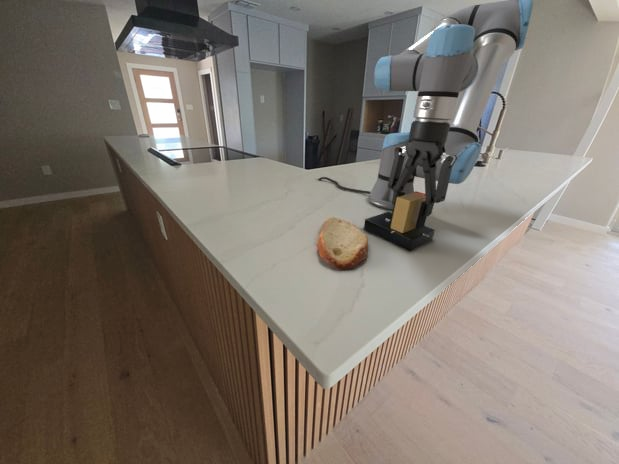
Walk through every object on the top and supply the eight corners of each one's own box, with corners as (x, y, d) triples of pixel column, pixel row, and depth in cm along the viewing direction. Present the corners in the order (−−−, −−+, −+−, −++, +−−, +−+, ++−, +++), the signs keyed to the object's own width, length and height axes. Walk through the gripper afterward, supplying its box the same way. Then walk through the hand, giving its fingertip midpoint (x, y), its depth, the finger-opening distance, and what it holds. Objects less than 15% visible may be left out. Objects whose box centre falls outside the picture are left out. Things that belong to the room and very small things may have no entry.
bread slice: (334, 221, 72) (335, 209, 70) (391, 246, 60) (394, 232, 59) (284, 240, 61) (284, 226, 59) (342, 275, 49) (344, 259, 47)
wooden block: (402, 233, 60) (410, 200, 56) (390, 228, 62) (397, 196, 59) (420, 225, 65) (429, 194, 61) (408, 221, 67) (416, 190, 63)
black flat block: (360, 230, 68) (362, 219, 66) (388, 220, 75) (390, 210, 73) (411, 255, 57) (414, 242, 56) (438, 241, 64) (441, 229, 63)
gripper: (382, 117, 57) (367, 212, 67) (472, 124, 44) (436, 241, 54) (402, 118, 61) (385, 207, 72) (489, 124, 48) (452, 233, 58)
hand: (407, 222), depth 63 cm, fingers open, 6 cm apart
